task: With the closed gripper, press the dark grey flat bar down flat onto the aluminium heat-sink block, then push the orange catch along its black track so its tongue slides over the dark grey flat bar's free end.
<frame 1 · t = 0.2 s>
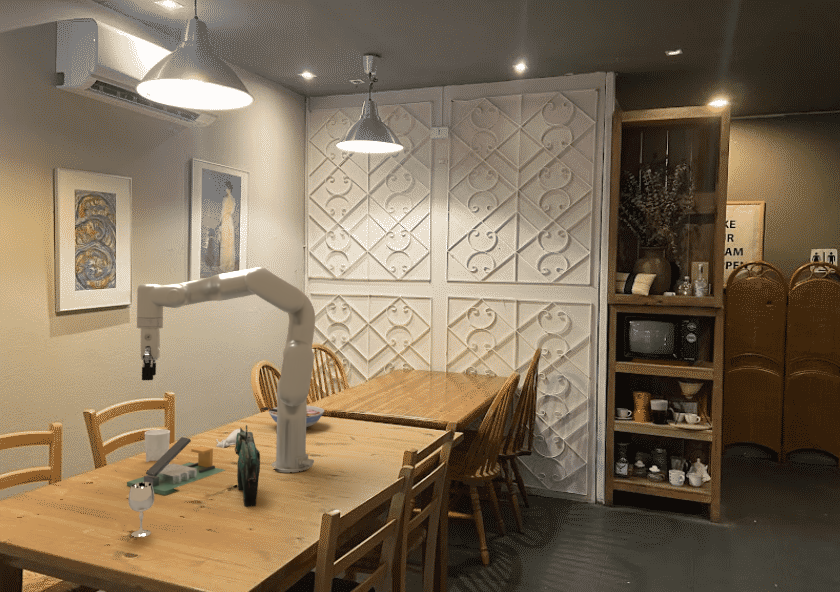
hand: (148, 377, 203), 30 cm above the table, tool pointing down, fingers open, 9 cm apart
ramen bowl: (296, 428, 269), on the table
heat sink: (173, 481, 197), resting on circuit board
circuit board: (178, 479, 198), on the table
catch: (201, 458, 207), point 4 cm above the table, slide at 0.0 cm
dark green sculpted piece: (248, 496, 186), on the table
white cup: (157, 462, 217), on the table
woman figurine: (230, 445, 242), on the table
dark grey flat bar: (168, 456, 195), point 8 cm above the table, hinge at 30.0°
wineglass: (141, 534, 157), on the table
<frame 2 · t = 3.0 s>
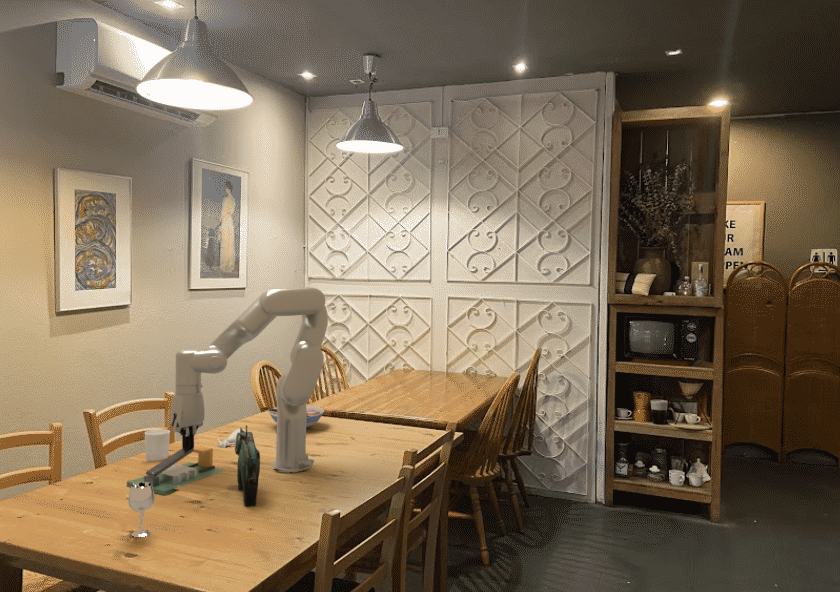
hand: (188, 447, 202), 9 cm above the table, tool pointing down, fingers closed
dark grey flat bar: (170, 461, 196), point 6 cm above the table, hinge at 16.3°, touching gripper
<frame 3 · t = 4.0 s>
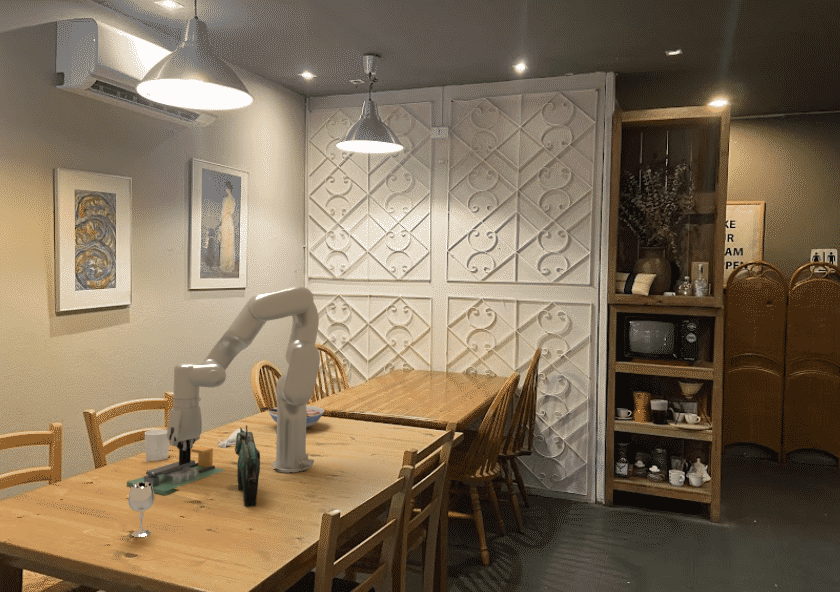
hand: (184, 461, 201), 5 cm above the table, tool pointing down, fingers closed
dark grey flat bar: (171, 467, 196), point 4 cm above the table, hinge at 0.0°, touching gripper
everything else where it was.
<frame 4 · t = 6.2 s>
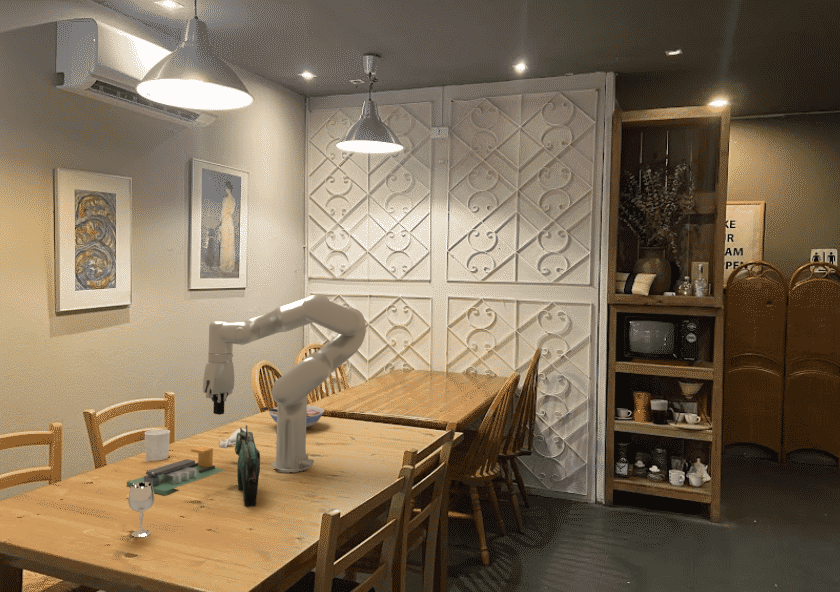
hand: (218, 413, 213), 17 cm above the table, tool pointing down, fingers closed
dark grey flat bar: (171, 467, 196), point 4 cm above the table, hinge at 0.0°
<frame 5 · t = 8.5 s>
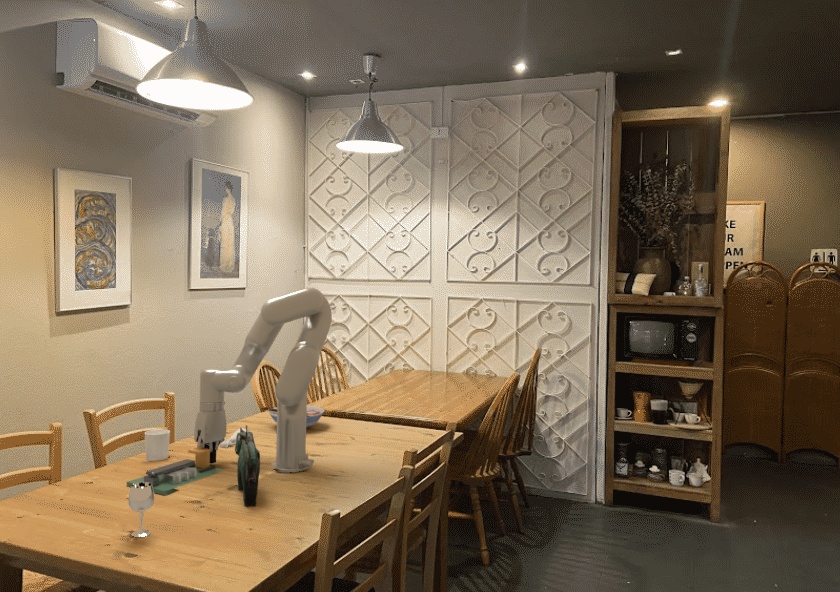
hand: (210, 462, 210), 2 cm above the table, tool pointing down, fingers closed
catch: (199, 458, 206), point 4 cm above the table, slide at 1.2 cm, touching gripper
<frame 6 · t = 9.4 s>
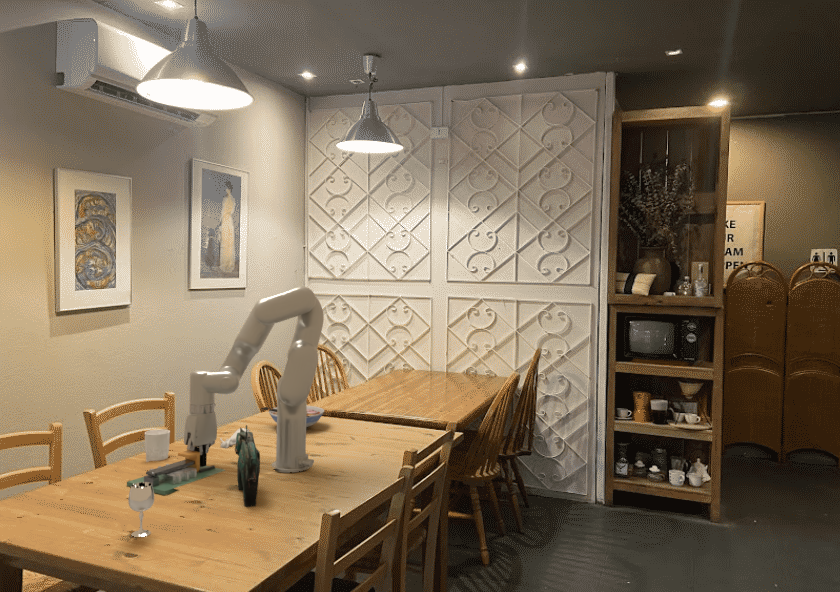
hand: (200, 465, 207), 2 cm above the table, tool pointing down, fingers closed
catch: (188, 462, 202), point 4 cm above the table, slide at 5.4 cm, touching gripper, dark grey flat bar
dark grey flat bar: (171, 467, 196), point 4 cm above the table, hinge at 0.0°, touching catch
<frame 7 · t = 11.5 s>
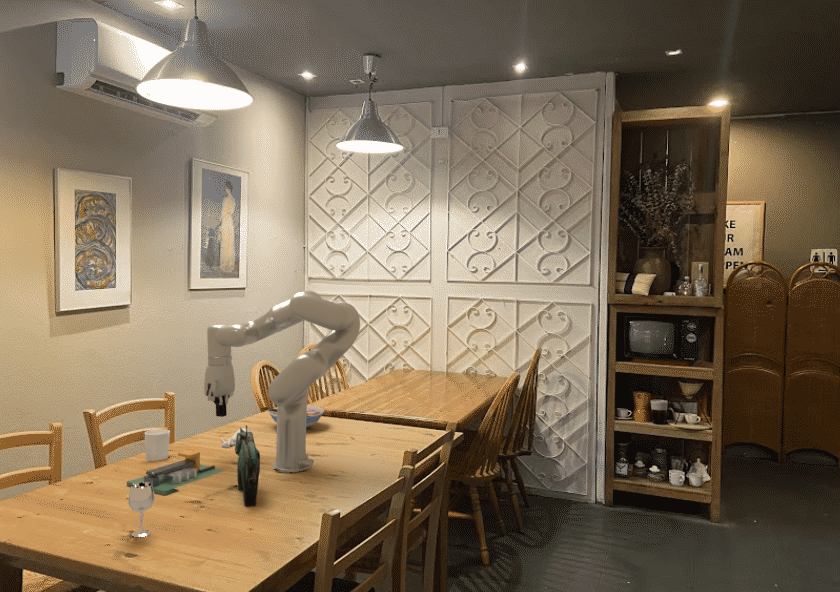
hand: (221, 415, 216), 16 cm above the table, tool pointing down, fingers closed
catch: (188, 462, 202), point 4 cm above the table, slide at 5.4 cm, touching dark grey flat bar
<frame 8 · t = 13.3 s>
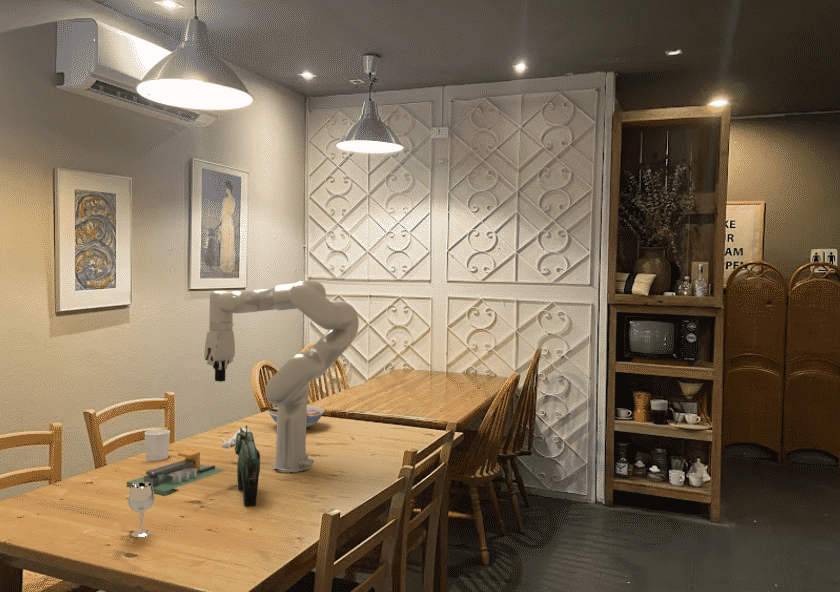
hand: (220, 380, 219), 27 cm above the table, tool pointing down, fingers closed
at the end: dark grey flat bar at +0° (first picture: +30°); catch slide at 5.4 cm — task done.
